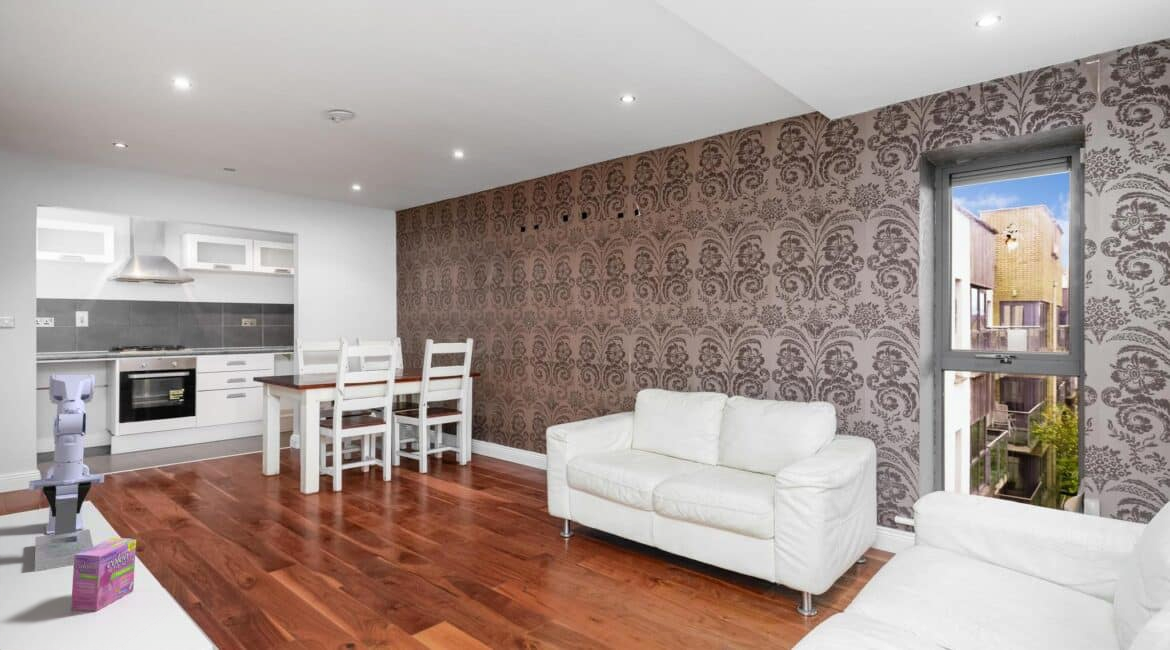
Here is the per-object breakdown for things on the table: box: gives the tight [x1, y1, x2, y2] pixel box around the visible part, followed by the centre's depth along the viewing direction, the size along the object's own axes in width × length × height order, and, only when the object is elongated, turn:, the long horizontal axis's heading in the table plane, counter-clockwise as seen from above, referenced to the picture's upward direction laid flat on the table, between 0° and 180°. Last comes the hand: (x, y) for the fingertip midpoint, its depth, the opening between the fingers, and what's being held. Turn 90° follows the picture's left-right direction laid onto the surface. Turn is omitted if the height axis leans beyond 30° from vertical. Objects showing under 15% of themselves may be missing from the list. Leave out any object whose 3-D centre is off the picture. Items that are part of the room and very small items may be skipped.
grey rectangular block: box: [54, 497, 77, 535], centre depth 156 cm, size 4×4×8 cm
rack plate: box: [34, 528, 94, 572], centre depth 157 cm, size 20×11×3 cm, turn 42°
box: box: [70, 537, 137, 612], centre depth 133 cm, size 10×6×12 cm, turn 179°
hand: (65, 514), depth 155 cm, fingers closed on grey rectangular block, 4 cm apart
